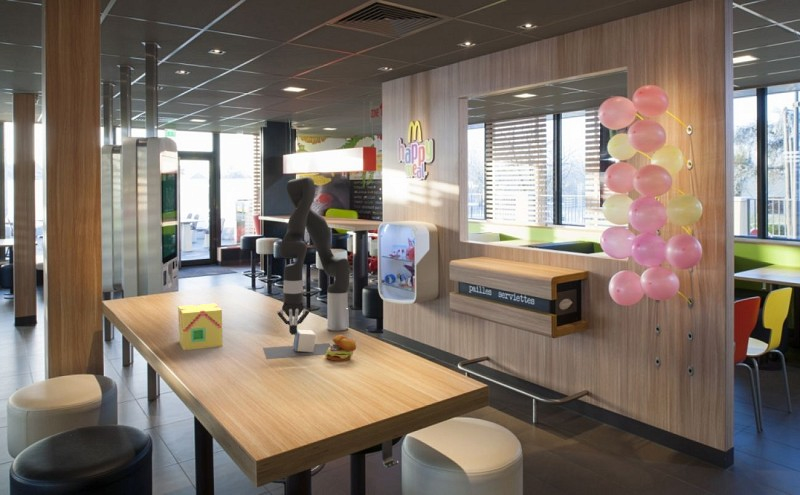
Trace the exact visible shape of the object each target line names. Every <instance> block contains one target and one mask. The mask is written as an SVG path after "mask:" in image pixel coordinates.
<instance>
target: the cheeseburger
mask: <svg viewBox="0 0 800 495" xmlns="http://www.w3.org/2000/svg"><path fill="white" fill-rule="evenodd" d="M332 342H333V344H332V345H331V346H330V347H329V348H328V350H327V352H326V354H325V358H326V359H328V360H330V361H331V360H332V361H335V362H345V361H348V360H350V359H351V358H352V356H353V354H354V351H356V348H357V345H356V341H354V339H348V337H347V336H345V335H343V334H338V335H336V336H334V338H332Z"/></svg>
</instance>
